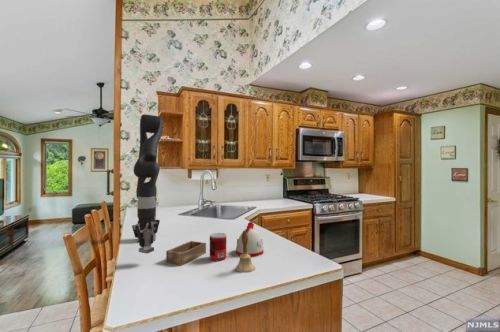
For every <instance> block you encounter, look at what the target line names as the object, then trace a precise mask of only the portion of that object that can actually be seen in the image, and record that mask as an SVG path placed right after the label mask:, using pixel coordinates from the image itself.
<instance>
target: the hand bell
mask: <svg viewBox="0 0 500 332" xmlns="http://www.w3.org/2000/svg"><path fill="white" fill-rule="evenodd" d="M242 233H243V234H242ZM242 233H241V234H242V243H243V254H242V255H240V256H239V261H238V263H237V265H236V266H235V271H237V272H239V273H251V272H253V271H255V270H256V267H255V265H254V264H253V262H252V259H251V258H252V257H251V256H250V255H249V254H247V242H248V235H247V232H246V229H244V230H243V231H242Z"/></svg>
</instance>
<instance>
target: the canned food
mask: <svg viewBox="0 0 500 332" xmlns="http://www.w3.org/2000/svg"><path fill="white" fill-rule="evenodd" d="M226 258H227V234H226V233H224V232H214V233H211V234H210V235H209V259H210V260H211V261H214V262H222V261H223V260H226Z"/></svg>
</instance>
